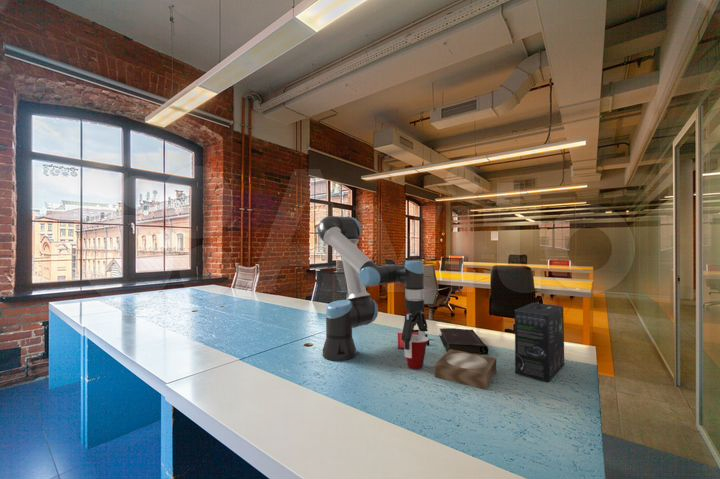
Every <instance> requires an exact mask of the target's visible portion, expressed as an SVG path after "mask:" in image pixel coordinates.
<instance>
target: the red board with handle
mask: <svg viewBox="0 0 720 479" xmlns="http://www.w3.org/2000/svg"><path fill="white" fill-rule="evenodd" d="M419 331H420V330H419V329H413V333H412V335H419ZM401 337H402V332H397V348H398V350H405V349H404V342H403V340H401ZM425 337H427V338H428V334H427V333H425ZM427 346H428V347H429V346H430V339H429V340H428V342H427V345H426V347H427Z"/></svg>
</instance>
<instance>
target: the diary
mask: <svg viewBox="0 0 720 479" xmlns="http://www.w3.org/2000/svg"><path fill="white" fill-rule="evenodd" d="M439 331H440V334H439V339H440V341H441V342H442V345H443V348H445V353H447V352H448V351H449V350H450V349H452V350H457V351H462V352H467V353H473V354H478V355H484V354H485V356H487V355H488V354H489V347H488V346H487V344H486V343H484V342H483V340H482V339H481V338H480V336H479V335H478V334H477V333H476V331H475V330H474V329H469V328H468V329H466V328H465V329H464V328H456V327H455V328H453V327H452V328H451V327H450V328H449V327H448V328H446V327H445V328H443V327H442V328H439Z"/></svg>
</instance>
